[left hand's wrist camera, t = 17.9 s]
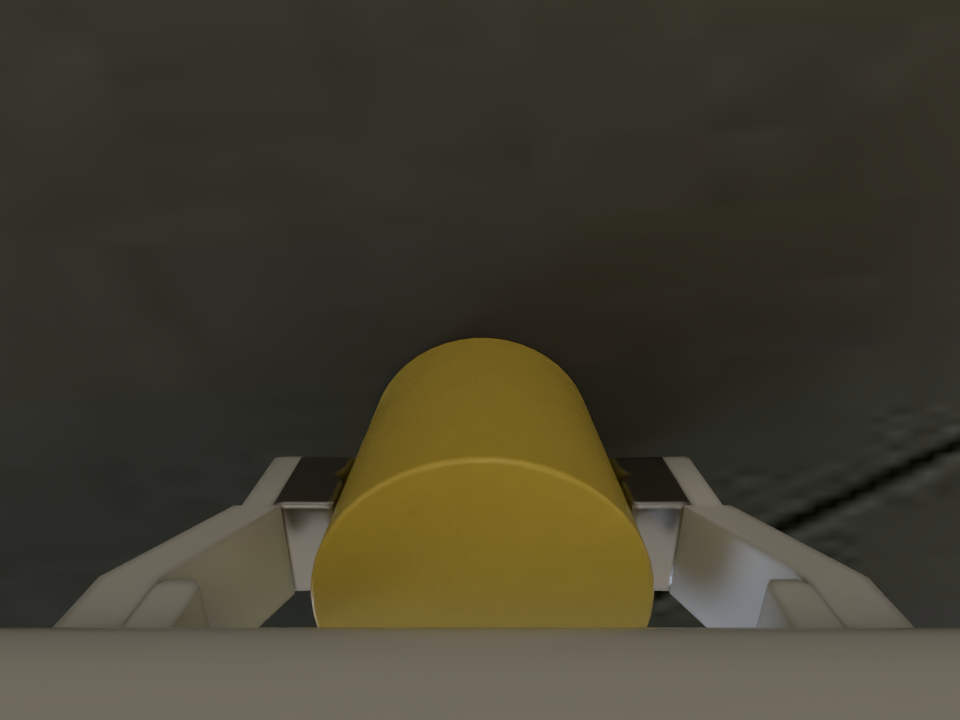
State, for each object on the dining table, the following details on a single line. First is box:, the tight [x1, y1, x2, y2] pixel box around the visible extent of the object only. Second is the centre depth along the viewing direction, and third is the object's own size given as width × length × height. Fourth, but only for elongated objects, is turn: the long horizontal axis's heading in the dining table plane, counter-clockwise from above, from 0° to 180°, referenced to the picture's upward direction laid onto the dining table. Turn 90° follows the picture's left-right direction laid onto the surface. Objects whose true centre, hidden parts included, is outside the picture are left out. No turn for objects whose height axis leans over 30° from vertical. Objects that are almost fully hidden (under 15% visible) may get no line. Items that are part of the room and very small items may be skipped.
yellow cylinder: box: [311, 338, 654, 628], centre depth 10 cm, size 5×5×5 cm
